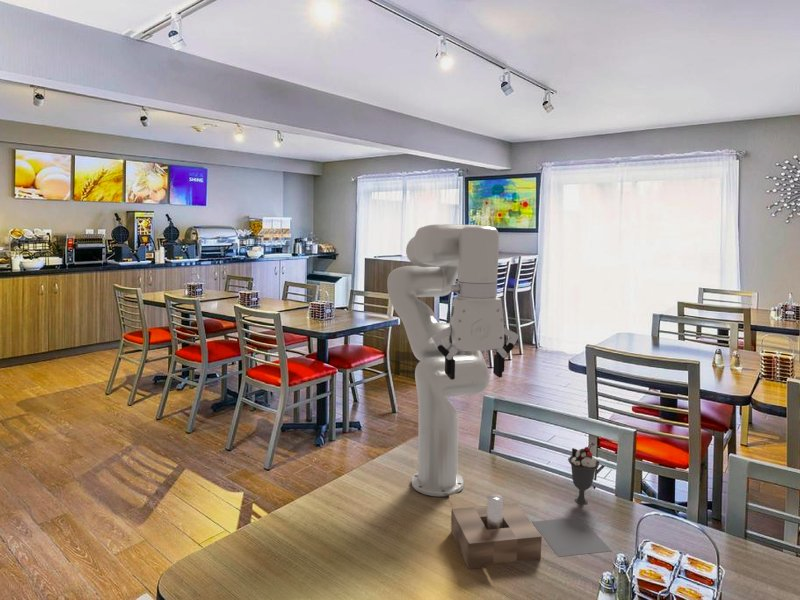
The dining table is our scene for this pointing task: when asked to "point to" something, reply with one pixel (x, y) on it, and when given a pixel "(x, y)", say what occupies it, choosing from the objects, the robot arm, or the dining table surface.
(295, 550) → the dining table surface
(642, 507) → the dining table surface
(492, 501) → the peg
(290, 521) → the dining table surface
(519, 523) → the hole block
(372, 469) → the dining table surface
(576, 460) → the sundae
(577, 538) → the mat
